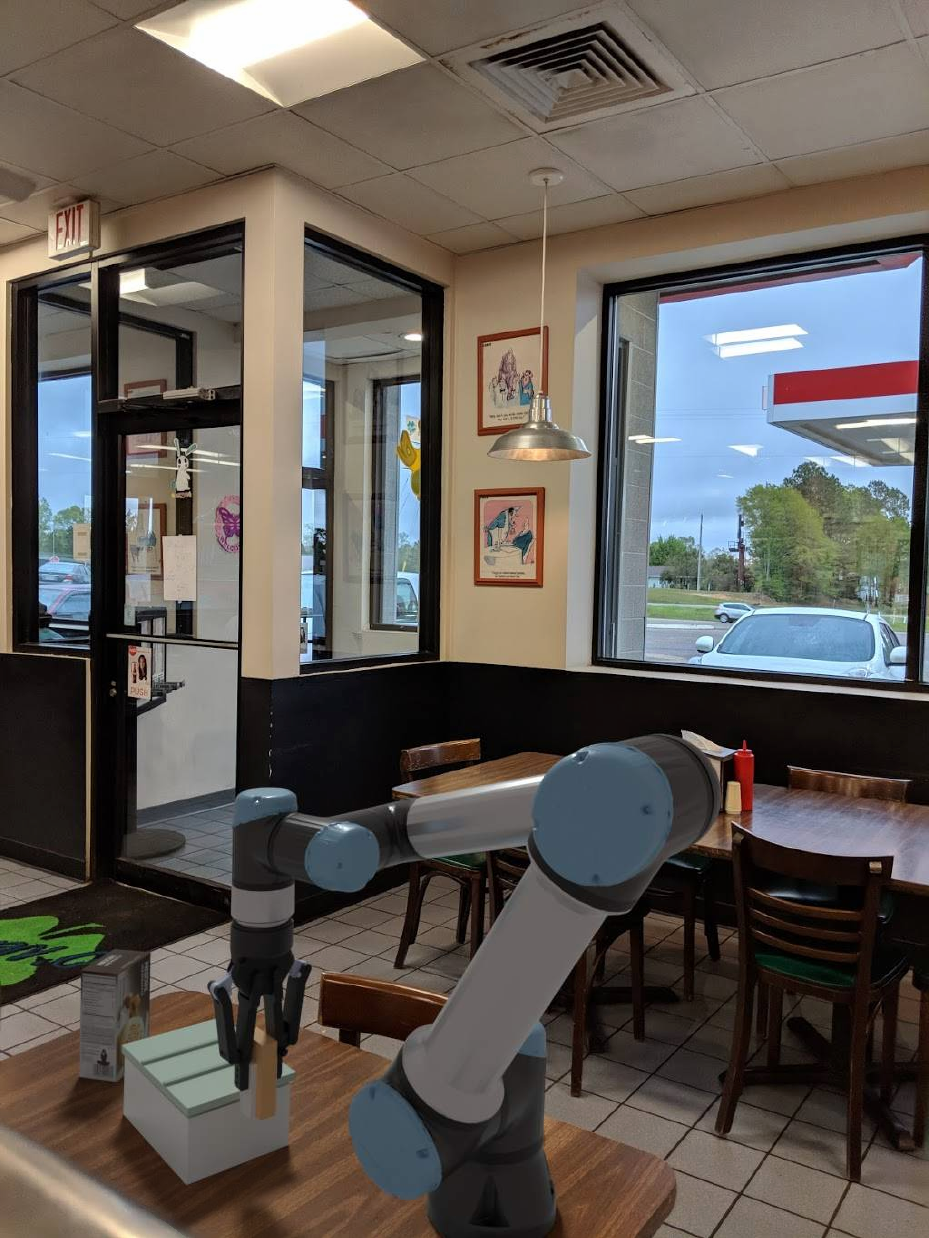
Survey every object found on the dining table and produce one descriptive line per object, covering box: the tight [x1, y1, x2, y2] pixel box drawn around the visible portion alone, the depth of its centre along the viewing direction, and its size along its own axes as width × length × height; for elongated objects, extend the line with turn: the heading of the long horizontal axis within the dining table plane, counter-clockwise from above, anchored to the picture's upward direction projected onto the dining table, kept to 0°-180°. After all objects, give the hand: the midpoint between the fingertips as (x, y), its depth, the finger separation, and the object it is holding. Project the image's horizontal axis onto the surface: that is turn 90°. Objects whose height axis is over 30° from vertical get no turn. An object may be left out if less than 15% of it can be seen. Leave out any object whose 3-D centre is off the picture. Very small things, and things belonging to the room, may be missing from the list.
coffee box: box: [78, 948, 152, 1083], centre depth 143 cm, size 9×6×16 cm
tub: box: [123, 1056, 291, 1186], centre depth 127 cm, size 20×14×8 cm
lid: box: [122, 1018, 297, 1121], centre depth 125 cm, size 27×15×10 cm, turn 41°
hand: (257, 1109), depth 116 cm, fingers closed on lid, 2 cm apart
